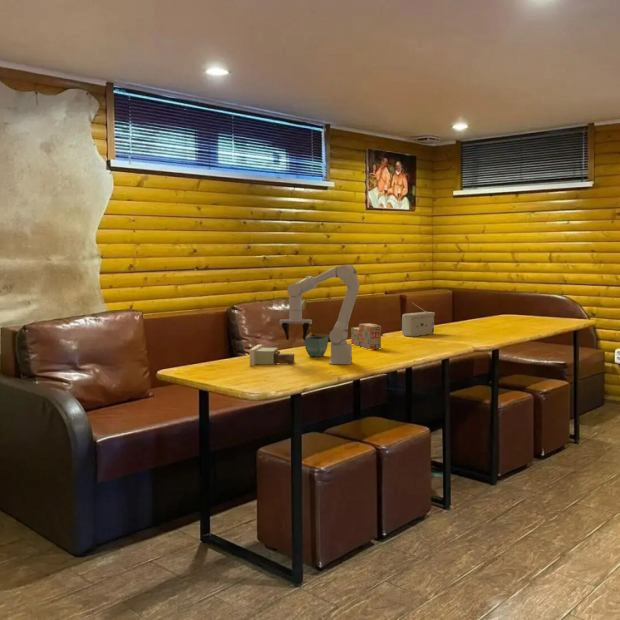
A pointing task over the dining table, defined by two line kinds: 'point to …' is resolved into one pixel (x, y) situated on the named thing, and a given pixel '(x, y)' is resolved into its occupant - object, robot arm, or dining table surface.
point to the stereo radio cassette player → (418, 323)
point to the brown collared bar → (283, 358)
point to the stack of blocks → (366, 336)
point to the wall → (254, 354)
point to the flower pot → (316, 345)
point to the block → (265, 355)
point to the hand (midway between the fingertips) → (295, 339)
